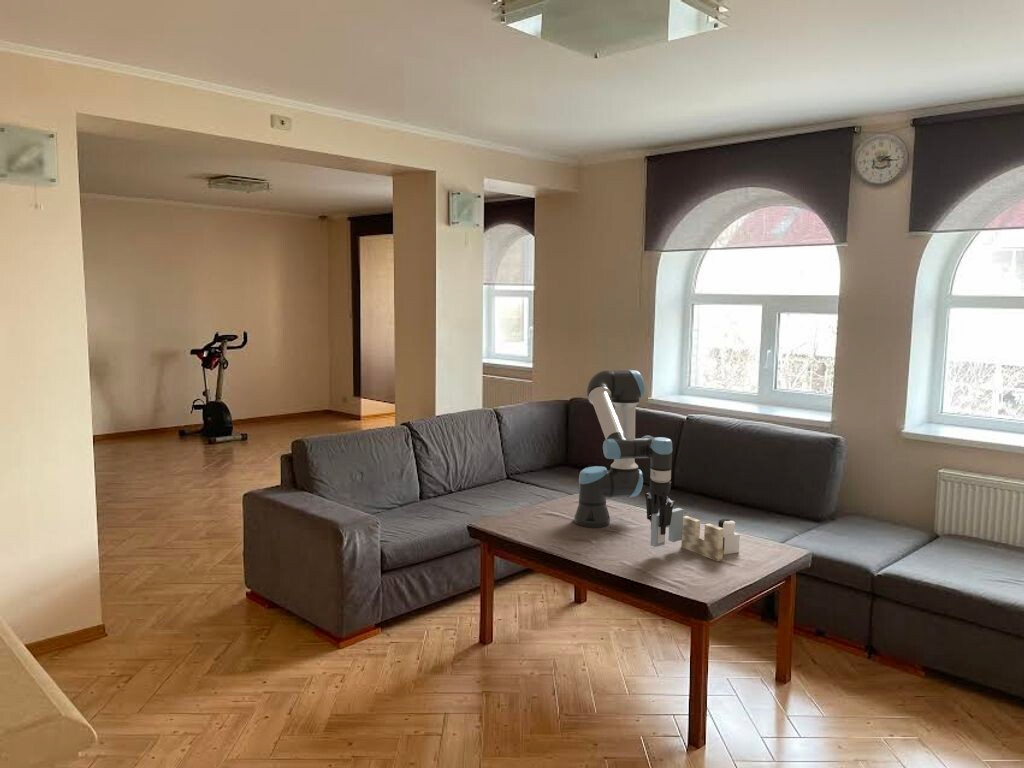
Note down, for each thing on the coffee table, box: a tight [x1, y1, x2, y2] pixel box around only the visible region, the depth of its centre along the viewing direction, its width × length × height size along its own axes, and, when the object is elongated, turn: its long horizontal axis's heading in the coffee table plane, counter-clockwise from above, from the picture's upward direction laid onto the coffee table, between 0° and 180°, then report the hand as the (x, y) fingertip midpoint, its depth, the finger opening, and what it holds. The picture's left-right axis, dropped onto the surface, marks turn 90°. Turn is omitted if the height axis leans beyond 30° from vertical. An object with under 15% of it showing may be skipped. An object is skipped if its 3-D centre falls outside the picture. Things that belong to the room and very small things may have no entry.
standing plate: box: [680, 515, 724, 562], centre depth 278 cm, size 18×2×12 cm, turn 33°
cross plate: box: [650, 507, 684, 548], centre depth 277 cm, size 14×2×12 cm, turn 123°
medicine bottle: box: [717, 518, 741, 556], centre depth 281 cm, size 7×7×12 cm
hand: (657, 540), depth 276 cm, fingers closed on cross plate, 2 cm apart
